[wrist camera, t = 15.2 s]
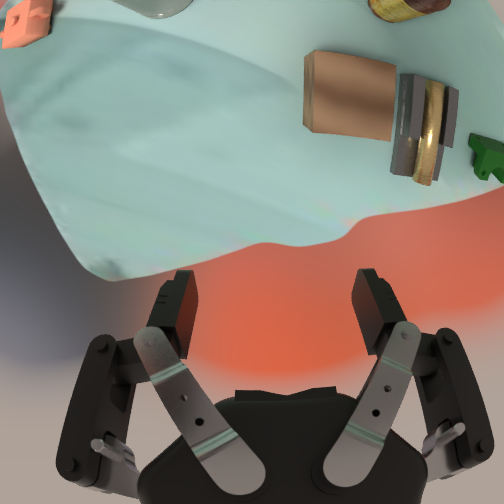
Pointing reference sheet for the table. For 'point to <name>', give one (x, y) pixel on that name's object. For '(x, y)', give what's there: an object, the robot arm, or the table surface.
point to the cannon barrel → (429, 132)
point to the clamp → (487, 157)
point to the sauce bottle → (405, 8)
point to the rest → (419, 124)
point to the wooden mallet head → (348, 95)
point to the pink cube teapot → (27, 23)
